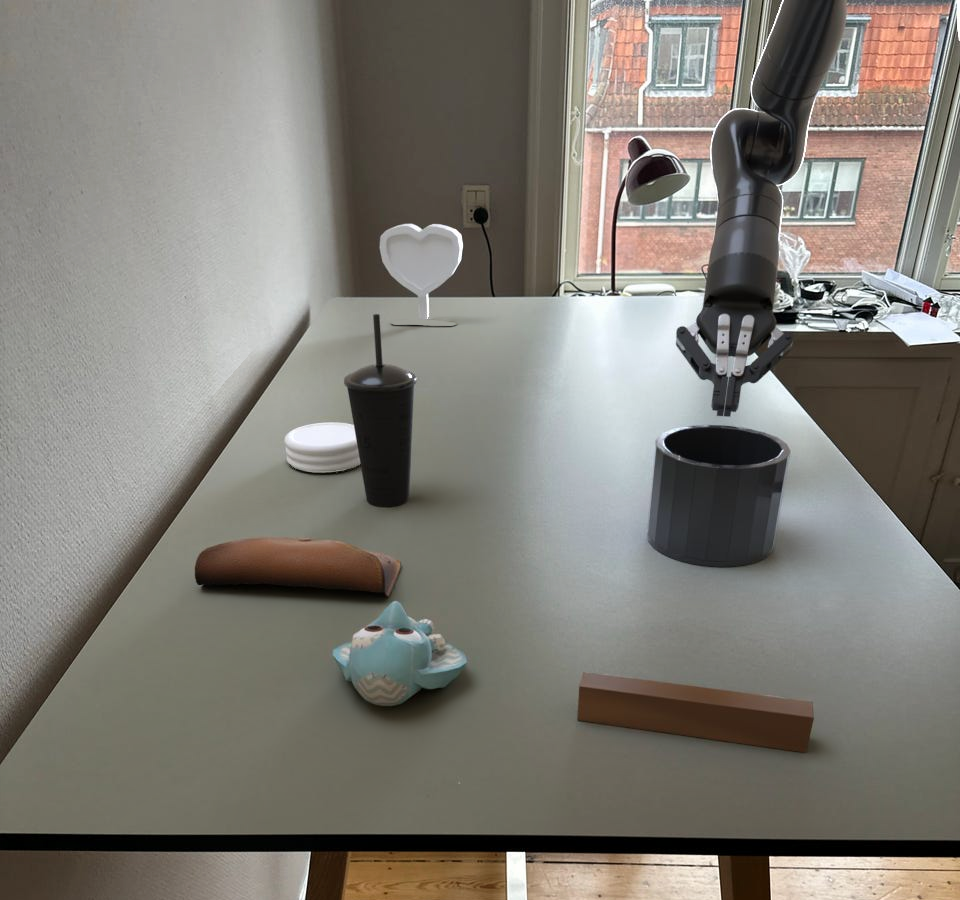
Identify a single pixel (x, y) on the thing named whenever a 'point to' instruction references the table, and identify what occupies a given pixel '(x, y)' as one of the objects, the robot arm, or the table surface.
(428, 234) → the heart sculpture
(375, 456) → the drinking cup
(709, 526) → the pot
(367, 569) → the sunglasses case
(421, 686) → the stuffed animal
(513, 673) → the table surface
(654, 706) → the block
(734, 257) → the robot arm
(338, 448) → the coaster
